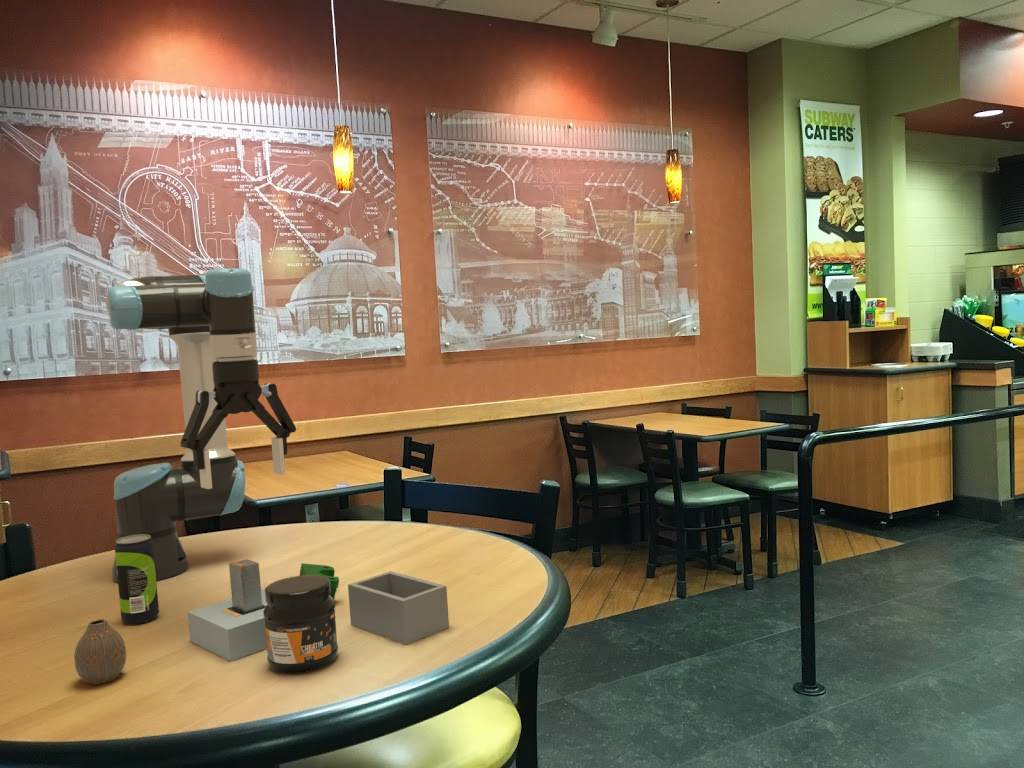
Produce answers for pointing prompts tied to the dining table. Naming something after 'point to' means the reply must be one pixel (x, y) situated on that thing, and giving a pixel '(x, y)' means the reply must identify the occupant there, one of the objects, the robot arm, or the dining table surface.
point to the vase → (99, 653)
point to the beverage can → (136, 579)
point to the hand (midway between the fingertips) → (244, 480)
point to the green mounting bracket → (321, 574)
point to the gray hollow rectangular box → (398, 606)
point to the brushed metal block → (245, 586)
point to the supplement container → (300, 624)
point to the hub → (228, 629)
